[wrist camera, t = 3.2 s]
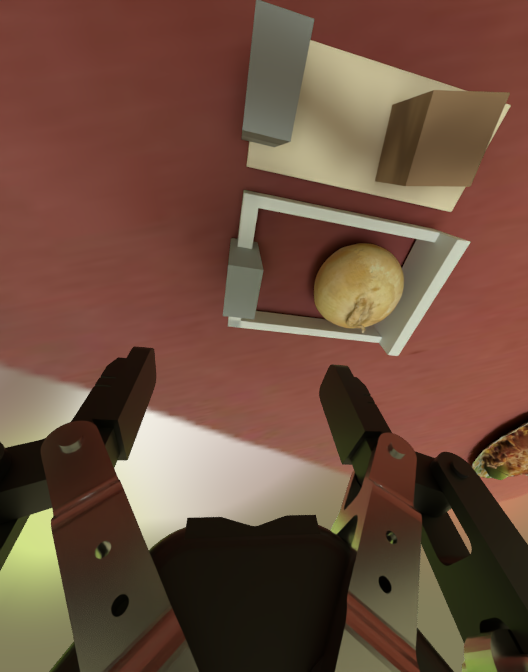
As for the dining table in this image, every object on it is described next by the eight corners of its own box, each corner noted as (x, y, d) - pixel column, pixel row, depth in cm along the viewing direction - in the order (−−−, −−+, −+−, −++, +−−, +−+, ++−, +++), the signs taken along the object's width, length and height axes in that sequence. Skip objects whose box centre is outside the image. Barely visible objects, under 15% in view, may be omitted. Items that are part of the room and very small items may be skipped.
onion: (315, 234, 23) (340, 259, 17) (395, 237, 24) (445, 262, 18) (302, 309, 28) (319, 349, 22) (370, 310, 28) (403, 348, 23)
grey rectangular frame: (236, 188, 20) (235, 199, 14) (434, 228, 23) (497, 251, 18) (223, 313, 27) (218, 355, 21) (378, 331, 30) (411, 372, 24)
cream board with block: (252, 30, 15) (263, -68, 9) (496, 108, 19) (639, 79, 12) (238, 164, 19) (238, 166, 13) (442, 209, 23) (526, 230, 16)
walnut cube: (392, 104, 17) (433, 90, 13) (453, 106, 17) (510, 92, 14) (374, 181, 20) (405, 186, 16) (428, 181, 20) (470, 186, 16)
